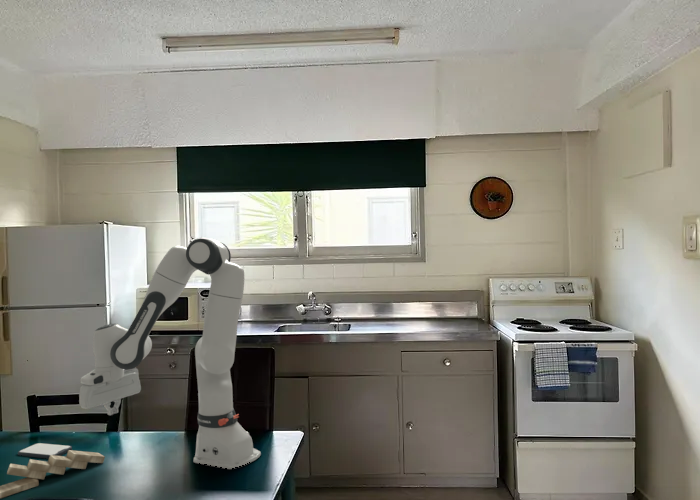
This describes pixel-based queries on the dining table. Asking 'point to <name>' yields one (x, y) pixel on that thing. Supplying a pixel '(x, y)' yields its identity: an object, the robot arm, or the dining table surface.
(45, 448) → the smartphone
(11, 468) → the tile
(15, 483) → the tile
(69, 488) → the dining table surface
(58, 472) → the tile
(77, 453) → the tan rectangular block
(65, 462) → the light brown wooden block
